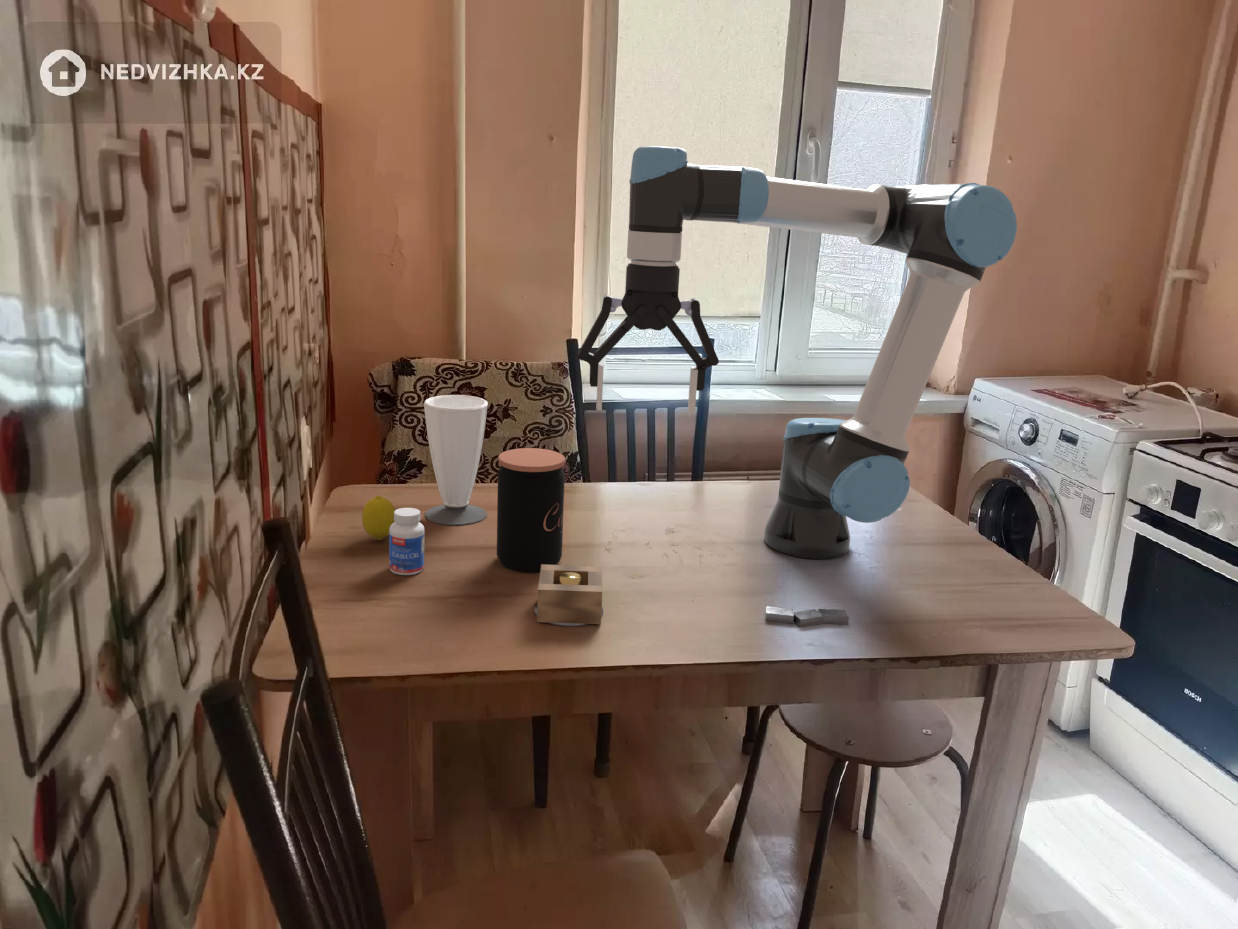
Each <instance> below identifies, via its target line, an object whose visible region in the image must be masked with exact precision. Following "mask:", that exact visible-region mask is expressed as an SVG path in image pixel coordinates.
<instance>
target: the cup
mask: <svg viewBox="0 0 1238 929" xmlns="http://www.w3.org/2000/svg"><path fill="white" fill-rule="evenodd" d="M488 403H489V402H488V401H487V400H486V399H484V398H481V397H478V396H471V395H465V394H447V395H438V396H437V395H436V396H431V397H428V398H427V399H425V400H424V402H423V407H424V408H423V409H424V417H425V418H424V419H425V424H426V434H427V440H428V445H429V446H428V447H429V451H430V452H429V453H430V456H431V462H432V468H433V471H434V475H435V479H436V483H437V484H436V485H437V487H438V491H439V494H440V497H441V500H442V504H440V505H436V506H433V507H431V508H429V509H427V510H426V511H425V512H424V517H425V518H426V520H428V521H429V522H431V523H434V524H437V525H443V526H467V525H468V526H469V525H473V524H477V523H479V522H481V521H483V520H484V519H486V518H487V515H488V511H486V510H485V509H484V508H482V507H481V506H478V505H473V504H469V502H470V499H471V496H472V493H473V489H474V487H475V483H476V482H475V481H476V478H477V474H478V469H479V465H480V459H481V454H482V449H483V443H484V437H485V429H486V421H487V420H486V419H487V413H488V412H487V411H488V405H489V404H488Z"/></svg>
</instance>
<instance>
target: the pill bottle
mask: <svg viewBox="0 0 1238 929" xmlns="http://www.w3.org/2000/svg"><path fill="white" fill-rule="evenodd" d="M394 510H395V509H394ZM394 521H395V523H393V524H392V525H391V526H390V529H389V535H388V539H389V540H388V542H389V543H388V544H389V546H388V549H389V550H388V551H389V553H388V554H389V555H388V556H389V559H388V561H389V562H388V566H389V567H388V568H389V571H390V572H392V573H393V574H396V575H399V576H414V575H416V574H419V573H421V572H422V571H423V570H424V568H425V526H424V525H423V524H422V523H421V522H420V521H421V510H419V509H417V508H414V507H400V508H396V510H395V511H394Z"/></svg>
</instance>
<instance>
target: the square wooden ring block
mask: <svg viewBox="0 0 1238 929" xmlns="http://www.w3.org/2000/svg"><path fill="white" fill-rule="evenodd" d="M602 569H603V568H602V566H600V565H599V566H598V565H596V566H595V565H593V566H592V565H569V564H567V565H566V564H557V565H544V564H541V571H540V572H539V579H538V587H537V603H538V608H537V616H536V618H537V619H536V622H537V623H547V622H549V623H580V624H588V625H601V624H602V617H601V609H602V608H603V606H602V605H603V604H602V603H603V570H602ZM566 572H573V573H577V574H579V575H580V576H581V580H580V585H562V584H560V575H561V574H562V573H566ZM549 623H548V624H549Z"/></svg>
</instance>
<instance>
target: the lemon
mask: <svg viewBox="0 0 1238 929" xmlns="http://www.w3.org/2000/svg"><path fill="white" fill-rule="evenodd" d="M394 511H395V507H394V505H393V503H392V502H391V501H390V500H389V499H388V498H386V497H382V496H381V495H376V496H375V497H373V498H371V499H369V500H368V501H367V502H366V503H365V505H364V507H363V510H362V516H361V521H362V526H363V529H364V530H365V532H366V533H367V534H368V535H369V536H371V537H372V538H375V539H376V540H378V541H382V539H384V538H385V537H388V536H389V529H390V526H391V525H392V524H393V523H395V521H394Z"/></svg>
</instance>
